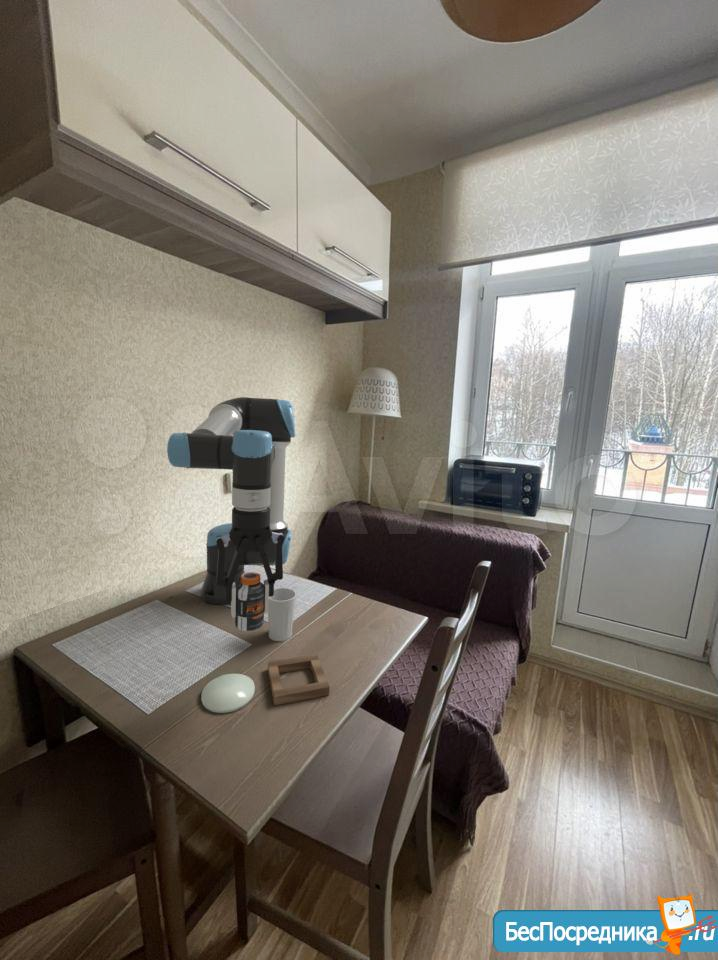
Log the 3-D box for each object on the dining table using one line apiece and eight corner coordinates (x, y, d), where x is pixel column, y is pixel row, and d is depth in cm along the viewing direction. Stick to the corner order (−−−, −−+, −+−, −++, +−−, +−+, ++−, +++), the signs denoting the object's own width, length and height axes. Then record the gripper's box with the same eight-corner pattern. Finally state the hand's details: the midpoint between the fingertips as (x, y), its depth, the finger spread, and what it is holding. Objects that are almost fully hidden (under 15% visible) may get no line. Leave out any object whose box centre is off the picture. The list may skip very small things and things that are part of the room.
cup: (288, 645, 102) (289, 603, 100) (260, 640, 104) (261, 598, 102) (298, 629, 110) (300, 590, 108) (272, 624, 112) (273, 586, 110)
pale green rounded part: (202, 681, 87) (202, 678, 87) (252, 673, 91) (252, 670, 90) (200, 718, 77) (200, 714, 77) (256, 707, 80) (256, 703, 80)
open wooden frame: (267, 669, 92) (267, 661, 92) (316, 661, 96) (316, 654, 96) (274, 705, 81) (274, 697, 81) (329, 694, 85) (329, 686, 85)
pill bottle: (247, 635, 78) (248, 584, 76) (229, 625, 82) (229, 575, 80) (269, 623, 83) (270, 574, 81) (251, 614, 87) (252, 567, 85)
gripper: (200, 513, 71) (201, 628, 75) (301, 510, 78) (297, 615, 82) (201, 503, 78) (201, 609, 82) (293, 501, 85) (290, 598, 89)
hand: (249, 611), depth 82 cm, fingers closed on pill bottle, 6 cm apart
